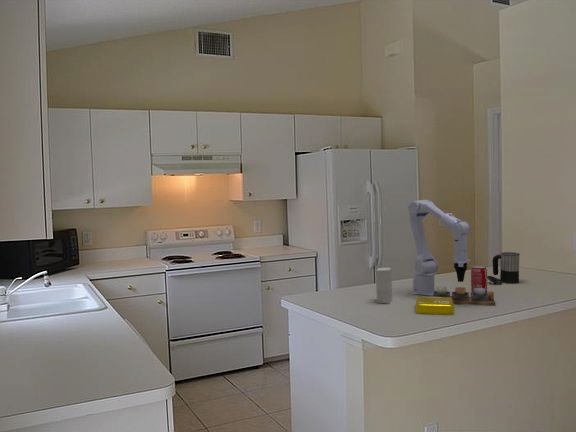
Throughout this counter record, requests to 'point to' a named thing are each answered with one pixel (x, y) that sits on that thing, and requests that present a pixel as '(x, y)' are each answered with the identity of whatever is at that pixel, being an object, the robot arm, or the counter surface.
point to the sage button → (441, 290)
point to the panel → (469, 298)
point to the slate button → (479, 291)
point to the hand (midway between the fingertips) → (460, 280)
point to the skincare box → (384, 285)
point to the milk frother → (506, 268)
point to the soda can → (478, 277)
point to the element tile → (434, 305)
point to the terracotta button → (460, 291)
